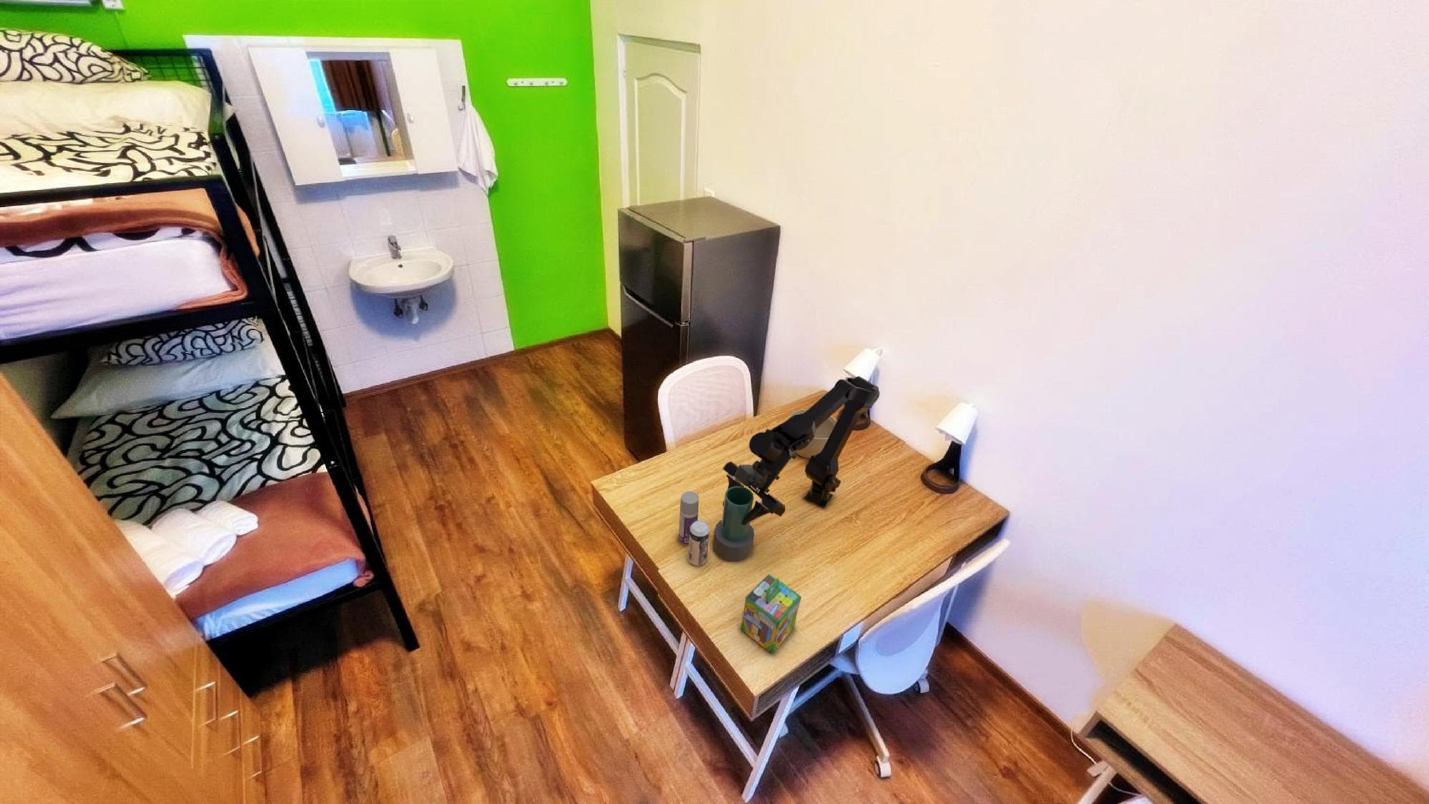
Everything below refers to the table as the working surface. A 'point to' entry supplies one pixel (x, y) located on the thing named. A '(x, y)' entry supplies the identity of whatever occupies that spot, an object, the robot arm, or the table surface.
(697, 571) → the table surface
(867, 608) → the table surface
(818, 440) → the planter bowl
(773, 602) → the chalk box
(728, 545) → the grey pot
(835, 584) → the table surface
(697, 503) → the container
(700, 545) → the grey capped bottle
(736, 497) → the green cup
